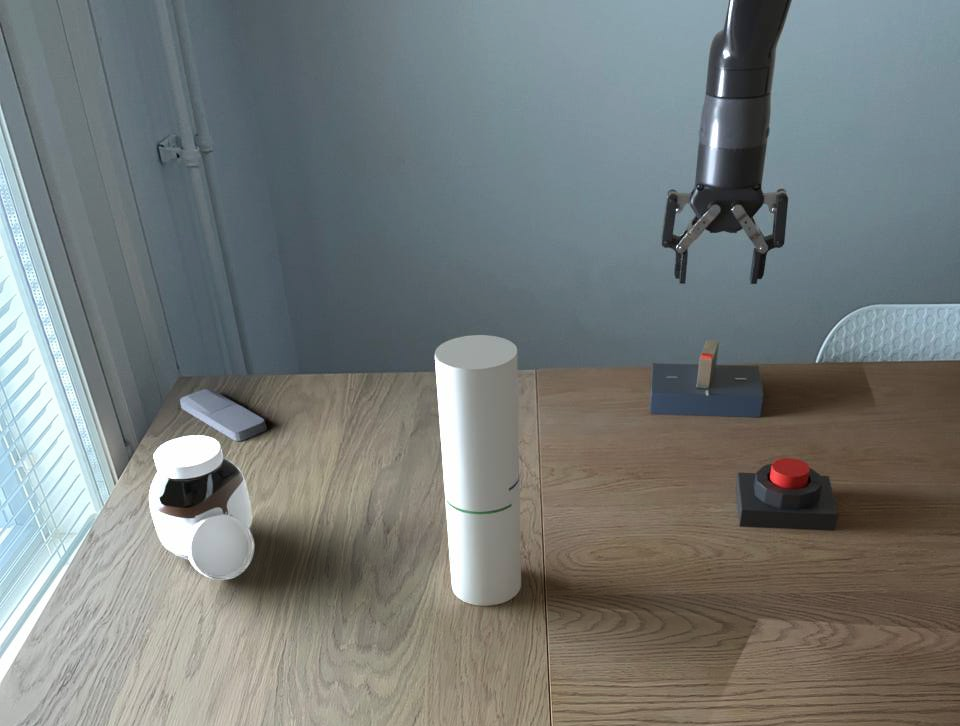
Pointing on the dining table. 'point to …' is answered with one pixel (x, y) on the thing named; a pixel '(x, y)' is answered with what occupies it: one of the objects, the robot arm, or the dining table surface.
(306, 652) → the dining table surface
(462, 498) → the cylindrical container
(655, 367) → the switch panel
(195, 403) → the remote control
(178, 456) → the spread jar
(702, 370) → the beige rectangular block
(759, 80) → the robot arm
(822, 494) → the button box
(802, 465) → the button
